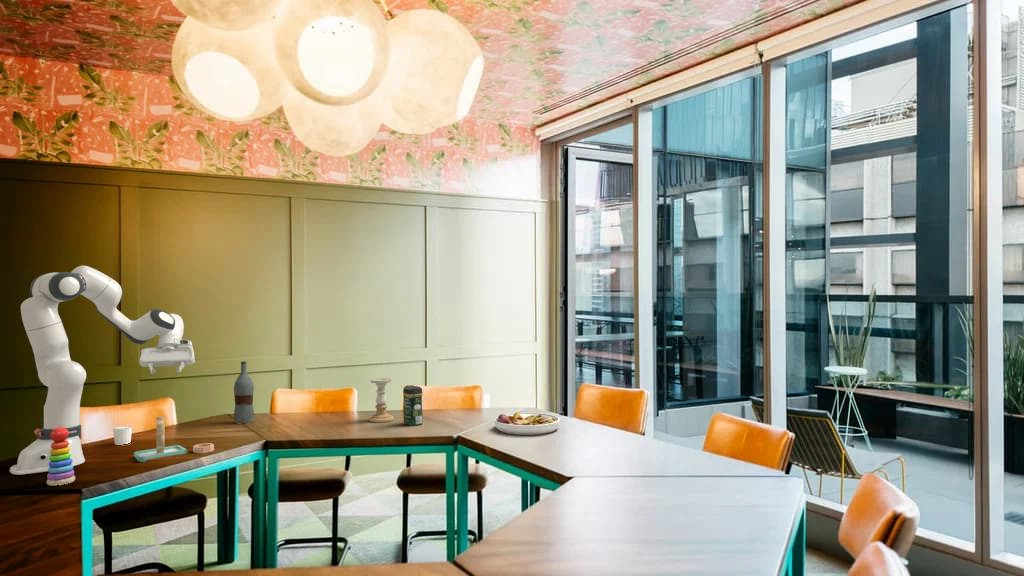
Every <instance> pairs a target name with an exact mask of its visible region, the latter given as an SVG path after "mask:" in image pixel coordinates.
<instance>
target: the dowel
mask: <svg viewBox="0 0 1024 576" xmlns="http://www.w3.org/2000/svg"><path fill="white" fill-rule="evenodd" d="M155 420H156V426H155V427H156V429H155V430H156V434H155V435H156V438H155V440H156V442H155V443H156V444H155V446H156V447H155V449H156V454H160V453H165V447H166V445H165V442H166V441H165V437H166V436H165V431H166V430H165V428H166V427H165V426H166V425H165V424H166V423H165V416H157V417H156V419H155Z"/></svg>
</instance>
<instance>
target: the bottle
mask: <svg viewBox="0 0 1024 576" xmlns="http://www.w3.org/2000/svg"><path fill="white" fill-rule="evenodd" d="M247 371H248V370H247V361H240V374H239V375H238V377H237V378H236V379H235V382H234V385H233V393H234V409H233V411H234V412H233V418H234V423H235V424H236V423H248V424H250V423H249V422H252V423H253V422H254V418H255V411H254V410H255V409H254V392H255V391H254V390H255V388H254V380H253V379H252V378H251V376H250V375H249V373H248V372H247Z"/></svg>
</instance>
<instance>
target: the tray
mask: <svg viewBox="0 0 1024 576" xmlns="http://www.w3.org/2000/svg"><path fill="white" fill-rule="evenodd" d="M185 454H188V449H187V448H185V447H183V446H181V445H179V444H177V445H170V446H165V453H160V454H156V448H151V449H144V450H138V451H134V452H133V458H134V457H135V458H136V459H135V458H134V459H135V460H136V461H138V462H139V461H140V462H143V463H147V462H146V461H149V460H154V459H160V458H167V457H173V456H179V455H185ZM140 462H139V463H140Z"/></svg>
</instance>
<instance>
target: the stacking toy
mask: <svg viewBox="0 0 1024 576" xmlns="http://www.w3.org/2000/svg"><path fill="white" fill-rule="evenodd" d="M68 435H69V432H68V430H67V429H66V428H64V427H58V428H55V429H54V430H53V431H52V432H51V434H50V437H51V439H52V440H53V441H54V442H53V443H52V444H51V448H53V449H51V450H50V454H51V455H50V457H49V459H50V460H51V461H50V462H49V466H50V467H49V468H48V471H47V473H48V474H47V475H46V476H47V477H46V478H47V480H46V484H47V485H48V486H51V487H56V486H57V485H59V486H64V484H65V485H68V483H69V484H71V483H74V482H75V480H76V476H75V470H74V466H73V464H71V463H72V459H71V458H70V457H71V454H70V453H69V451H70V448H69V447H67V446H68V445H69V442H68V441H65V440H66V439H67V438H68Z"/></svg>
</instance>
